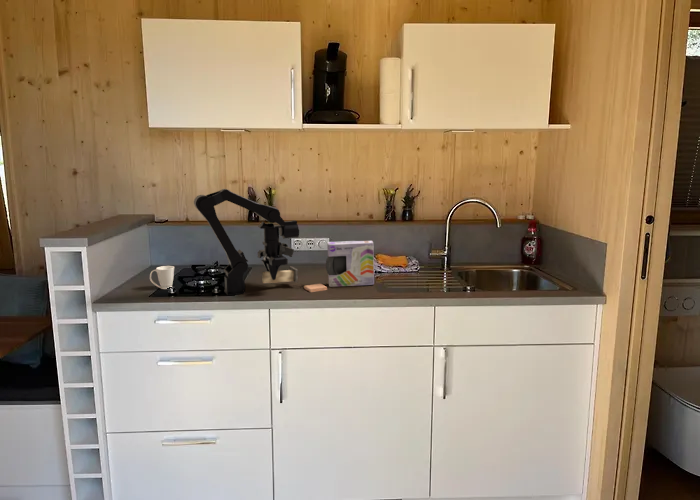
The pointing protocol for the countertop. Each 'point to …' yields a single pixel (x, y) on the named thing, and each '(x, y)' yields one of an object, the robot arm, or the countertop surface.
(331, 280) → the cake pan box
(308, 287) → the tile
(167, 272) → the cup
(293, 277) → the beige block with plate
